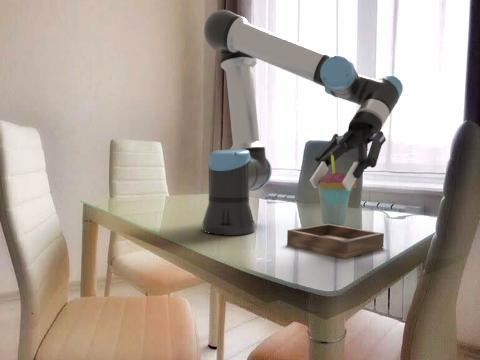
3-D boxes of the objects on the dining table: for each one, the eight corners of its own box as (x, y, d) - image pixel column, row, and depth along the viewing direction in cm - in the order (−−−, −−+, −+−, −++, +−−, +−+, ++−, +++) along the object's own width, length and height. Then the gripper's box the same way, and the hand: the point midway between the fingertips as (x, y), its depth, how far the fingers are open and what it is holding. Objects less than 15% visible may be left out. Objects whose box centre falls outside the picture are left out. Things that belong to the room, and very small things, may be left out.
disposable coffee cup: (356, 226, 113) (358, 178, 112) (339, 230, 105) (340, 179, 105) (327, 221, 120) (328, 177, 120) (309, 225, 113) (310, 178, 112)
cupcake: (311, 201, 86) (312, 151, 85) (334, 199, 90) (335, 152, 90) (339, 205, 79) (341, 151, 78) (363, 203, 83) (364, 152, 83)
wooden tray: (287, 244, 86) (287, 230, 86) (327, 236, 96) (327, 223, 96) (343, 259, 74) (344, 242, 74) (383, 248, 84) (383, 233, 84)
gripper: (414, 129, 85) (377, 200, 76) (339, 134, 102) (300, 192, 92) (404, 105, 82) (364, 176, 72) (328, 113, 98) (287, 172, 89)
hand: (328, 185), depth 82 cm, fingers closed on cupcake, 8 cm apart
